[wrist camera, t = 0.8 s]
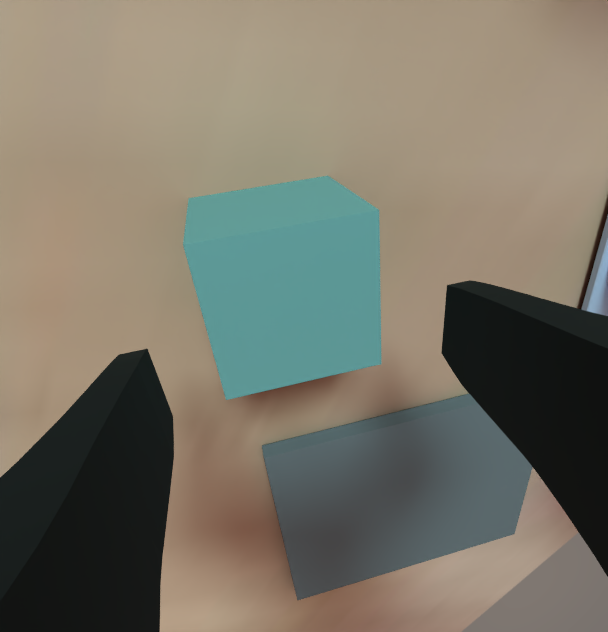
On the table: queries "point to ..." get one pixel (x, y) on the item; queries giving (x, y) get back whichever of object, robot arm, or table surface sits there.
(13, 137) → the table surface
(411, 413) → the grey blue flat plate
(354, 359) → the cube
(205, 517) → the table surface
